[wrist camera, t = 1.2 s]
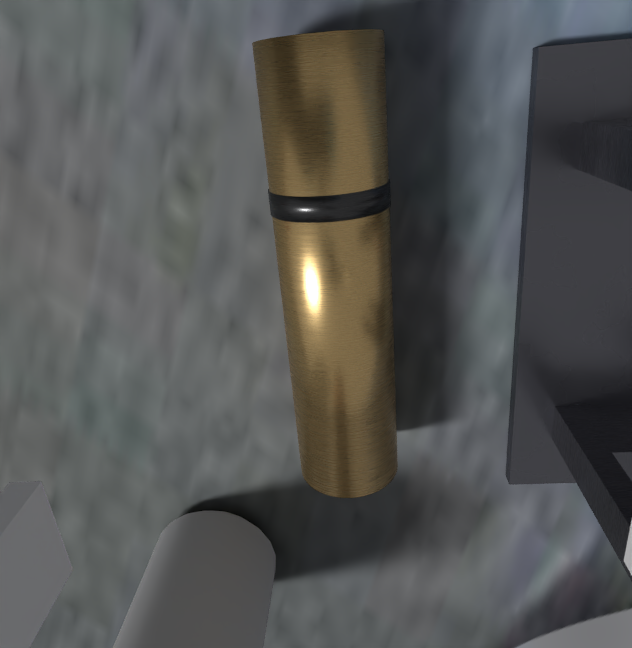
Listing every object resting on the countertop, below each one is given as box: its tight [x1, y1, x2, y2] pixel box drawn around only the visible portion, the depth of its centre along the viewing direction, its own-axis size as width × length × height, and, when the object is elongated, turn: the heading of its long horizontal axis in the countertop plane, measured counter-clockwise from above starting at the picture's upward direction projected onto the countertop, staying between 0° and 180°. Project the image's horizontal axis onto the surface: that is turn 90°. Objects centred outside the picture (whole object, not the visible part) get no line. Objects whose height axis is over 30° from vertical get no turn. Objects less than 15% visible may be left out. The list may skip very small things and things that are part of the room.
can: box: [113, 510, 276, 648], centre depth 30 cm, size 8×8×12 cm
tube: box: [252, 29, 398, 498], centre depth 25 cm, size 20×5×5 cm, turn 5°
